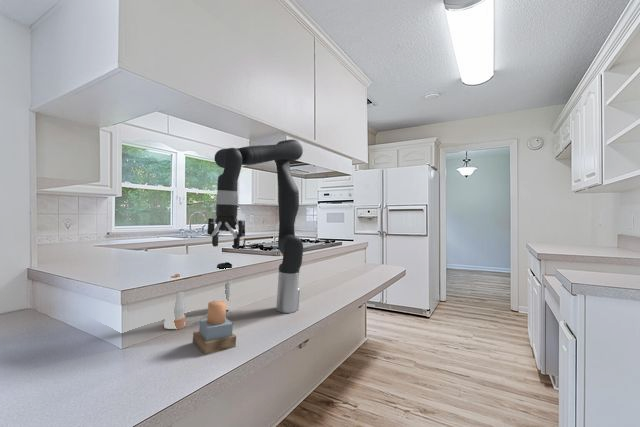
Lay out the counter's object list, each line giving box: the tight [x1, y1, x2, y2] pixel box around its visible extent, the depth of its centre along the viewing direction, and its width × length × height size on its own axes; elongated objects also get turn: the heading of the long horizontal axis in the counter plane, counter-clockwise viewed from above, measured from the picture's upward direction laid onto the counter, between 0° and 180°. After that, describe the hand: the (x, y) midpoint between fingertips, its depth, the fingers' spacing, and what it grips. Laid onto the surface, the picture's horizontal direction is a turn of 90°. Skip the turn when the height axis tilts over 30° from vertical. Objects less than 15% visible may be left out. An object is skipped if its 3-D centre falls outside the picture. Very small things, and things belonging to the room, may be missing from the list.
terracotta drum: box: [206, 300, 227, 325], centre depth 103 cm, size 6×6×6 cm
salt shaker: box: [170, 273, 186, 331], centre depth 115 cm, size 7×7×19 cm
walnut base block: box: [192, 330, 237, 356], centre depth 103 cm, size 10×10×4 cm
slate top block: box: [198, 317, 234, 341], centre depth 103 cm, size 8×8×4 cm
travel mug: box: [216, 261, 233, 301], centre depth 136 cm, size 6×7×20 cm
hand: (225, 247), depth 116 cm, fingers open, 8 cm apart
